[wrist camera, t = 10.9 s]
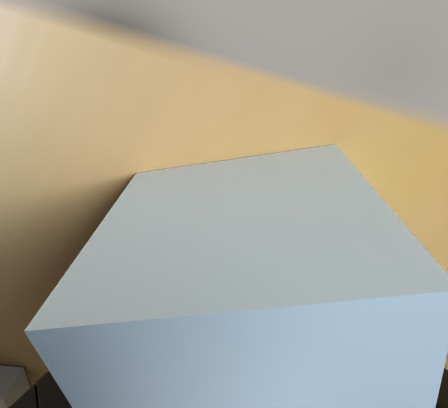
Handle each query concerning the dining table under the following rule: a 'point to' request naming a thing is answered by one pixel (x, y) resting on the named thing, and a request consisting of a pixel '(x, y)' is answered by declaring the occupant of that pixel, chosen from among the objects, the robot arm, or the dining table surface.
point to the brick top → (249, 294)
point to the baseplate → (12, 384)
